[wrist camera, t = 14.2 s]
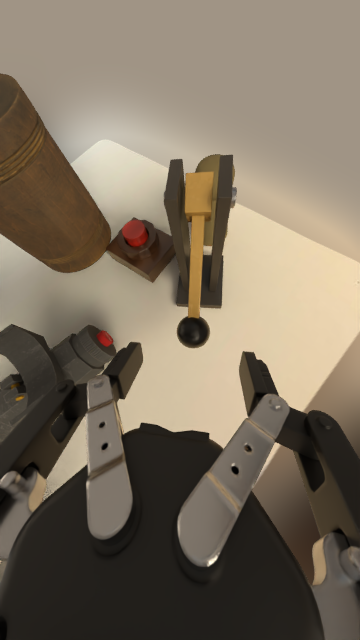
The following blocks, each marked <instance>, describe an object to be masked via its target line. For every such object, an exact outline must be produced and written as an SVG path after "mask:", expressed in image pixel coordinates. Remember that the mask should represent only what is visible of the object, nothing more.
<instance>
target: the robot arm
mask: <svg viewBox="0 0 360 640" xmlns="http://www.w3.org/2000/svg"><path fill="white" fill-rule="evenodd" d="M142 363H143V354H142V348H141V343H138V342H130V343H129V345H128V346H127V348H123V349H121V350H120V351H118V353H117V354H116V355H115V357H114V358H113V359H112V361H111V362H110V363H109V365H108V366H107V368H106V369H105V370H104V372H103V373H102V374H101V375H97V376H95V377H93V378H92V379H90V380H89V382H88V383H82V384H76V385H75V383H74V381H73V380H71V379H66V380H62V381H60V382H58V383H56V384H55V385H54V386H53V387H52V388H51V389H50V390H49V391H48V392H47V393H46V394H45V395H44V396H43V398H42V399H41V400H40V401H39V402H38V403H37V404H36V405H35V406H34V407H33V408H32V410H31V411H30V412H29V413H28V414H27V415H26V416H25V417H24V418H23V419H22V420H21V421H20V423H19V424H18V425H17V426H16V427H15V428H14V429H13V430H12V431H11V432H10V433H9V435H8V436H7V437H6V438H5V439H4V440H3V441H2V442H1V443H0V560H2V561H7V563H6V566H5V569H4V573H3V576H2V579H1V582H0V640H360V459H359V458H358V456H357V454H356V453H355V451H354V449H353V448H352V446H351V444H350V442H349V441H348V439H347V438H346V436H345V434H344V433H343V431H342V429H341V427H340V426H339V424H338V423H337V422H336V421H335V420H334V419H333V418H332V417H331V416H329V415H328V414H326V413H324V412H321V411H317V410H312V411H310V412H309V413H308V414H306V413H303V412H301V411H298V410H295V409H293V408H291V407H289V406H288V404H287V402H286V401H285V400H284V399H282V398H281V397H279V395H278V392H277V390H276V387H275V385H274V382H273V380H272V378H271V375H270V373H269V370H268V368H267V365H266V364H265V363H264V362H263V361H262V360H257V359H256V357H255V354H254V352H244V351H243V352H242V357H241V362H240V367H239V375H240V380H241V385H242V390H243V395H244V400H245V405H246V410H247V415H248V417H249V418H248V419H247V418H246V419H245V420H244V421H243V423H242V424H241V425H240V427H239V428H238V430H237V431H236V433H235V434H234V435H233V437H232V438H231V440H230V441H229V443H228V444H227V445H226V447H225V448H224V449H223V448H222V447H221V446H220V445H219V444H217V443H216V442H214V441H213V440H210V439H209V433H206V432H199V431H193V430H191V431H183V432H171V431H169V430H167V429H165V428H162V427H160V426H158V425H154V424H147V423H141V425H140V428H138V429H134V430H131V431H129V432H127V433H125V434H124V431H123V427H122V423H121V419H120V414H119V410H118V406H117V401H118V400H119V399H125V397H126V395H127V393H128V391H129V389H130V387H131V385H132V383H133V381H134V379H135V377H136V375H137V373H138V371H139V369H140V367H141V365H142ZM60 413H61V414H60ZM58 416H59V417H58ZM84 416H85V417H86V440H87V465H86V466H85V467H83V468H82V469H81V470H80V471H79V472H78V473H76V474H75V475H74V476H73V477H72V478H70V479H69V480H68V481H67V482H66V483H64V484H63V485H62V486H61V487H60V488H59V489H57V490H56V491H55V492H54V493H53V494H51V495H50V496H49V497H48V498H47V499H45V500H44V501H43V502H42V500H43V495H44V493H45V490H46V485H47V484H46V478H47V477H48V475H49V473H50V472H51V470H52V468H53V467H54V465H55V463H56V462H57V460H58V458H59V457H60V455H61V453H62V452H63V450H64V449H65V447H66V445H67V444H68V442H69V440H70V439H71V437H72V435H73V434H74V432H75V430H76V429H77V427H78V425H79V424H80V422H81V420H82V419H83V417H84ZM57 417H58V418H57ZM55 420H56V421H55ZM54 421H55V422H54ZM52 424H53V425H52ZM275 442H277V443H279V444H281V445H283V446H285V447H287V448H289V449H291V450H293V452H294V455H295V458H296V461H297V464H298V467H299V470H300V473H301V477H302V479H303V483H304V486H305V489H306V492H307V496H308V499H309V502H310V505H311V508H312V511H313V514H314V517H315V521H316V523H317V527H318V530H319V533H320V536H321V539H319V540H318V541H317V542H315V544H314V546H313V552H312V553H313V562H314V567H315V577H314V581H313V583H312V585H310V584H309V582H308V579H307V577H306V575H305V573H304V571H303V570H302V568H301V566H300V564H299V563H298V561H297V560H296V558H295V556H294V555H293V553H292V552H291V550H290V549H289V547H288V546H287V544H286V543H285V541H284V540H283V538H282V536H281V535H280V534H279V532H278V531H277V529H276V527H275V526H274V524H273V523H272V521H271V520H270V518H269V516H268V515H267V513H266V512H265V510H264V509H263V507H262V506H261V504H260V503H259V501H258V499H257V498H256V496H255V495H254V493H253V492H252V488H253V486H254V484H255V482H256V480H257V478H258V476H259V474H260V472H261V470H262V468H263V466H264V464H265V462H266V459H267V457H268V455H269V453H270V451H271V449H272V447H273V445H274V443H275Z"/></svg>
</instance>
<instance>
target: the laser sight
mask: <svg viewBox="0 0 360 640" xmlns="http://www.w3.org/2000/svg"><path fill="white" fill-rule="evenodd" d="M112 343H113V339H112V337H111V336H110V335H109V334H108V333H107V332H106V331H104V330H102V331H101V330H99V329H98V328H96V327H95V326H92V325H88V326H86V327H85V328H84V329H82V330H81V331H80V332H79V333H78V334H77V335H76V334H73V333H72V334H71V335H70V336H68V337H67V338H66V339H64V340H63V341H62V342H61V343H59V344H58V345H57V346H55V347H54V348H53V349H51V350H50V349H49V347H48V345H47V343H46V341H45V339H44V337H43V336H41V335H38V334H36V333H33V332H31V331H28V330H26V329H23V328H21V327H18V326H16V325H13V324H11V325H9V326H8V327H7V328H5V329H4V330H3V331H1V332H0V354H2V355H4V356H6V357H7V358H8V359H9V361H10V362H11V363H12V364H13V365H14V366H15V367H16V369H17V370H18V372H19V373H20V374H14V375H10V376H8V377H7V378H6V379H4V380H3V381H2V382H0V387H1V389H0V443H1V442H2V441H3V440H4V439H5V438H6V437H7V436H8V435H9V433H10V432H11V431H12V430H13V429H14V428H15V427H16V426H17V425H18V424H19V423H20V421H21V420H22V419H23V418H24V417H25V416H26V415H27V414H28V413H29V412H30V411H31V410H32V408H33V407H34V406H35V405H36V404H37V403H38V402H39V401H40V400H41V399H42V398H43V396H44V395H45V394H46V393H47V392H48V391H49V390H50V389H51V388H52V387H53V386H54V385H55V384H56V383H58V382H60V381H62V380H66V379H71V380H73V381H74V383H75V385H76V384H82V383H87V382H89V380H90V379H92V378H93V377H95V376H96V375H97V374H99V373H100V372H101V371H102V370H104V364H105V363H106V362H109V361H110V360H111V359H112V358H114V357H115V355H116V354H117V353H116V349H115V347H114V345H113V344H112Z"/></svg>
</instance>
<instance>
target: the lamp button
mask: <svg viewBox="0 0 360 640" xmlns="http://www.w3.org/2000/svg"><path fill="white" fill-rule="evenodd" d="M122 234H123V236H124V238H125V239H126V241H127V243H128V244H129V245H130V246H133V247H138V246H140V245H143V244H144V243H145V242H146V241H147V238H148V234H147V231H146V229H145V226H144V224H143V223H142V222H141V221H138V220H133V221H130V222H128V223H126V224H125V225H124V227H123V229H122Z"/></svg>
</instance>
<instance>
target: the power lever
mask: <svg viewBox="0 0 360 640" xmlns="http://www.w3.org/2000/svg"><path fill="white" fill-rule="evenodd" d="M213 178H214V172H198V173H186V181H185V215H186V218H187V221H188V222H192V225H191V252H190V278H189V304H188V316H187V317H185V318H183V319H182V320H181V321H180V323H179V324H178V327H177V337H178V339H179V341H180V342H181V343H182V344H183V345H184V346H186V347H188V348H198V347H201V346H203V345H204V344H205V343H206V342H207V340H208V338H209V335H210V328H209V325H208V323H207V322H206V321H205V320H204V319H203V318H202V317H200V298H201V280H202V262H203V243H204V225H205V222H208V221H211V210H212V194H213Z"/></svg>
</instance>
